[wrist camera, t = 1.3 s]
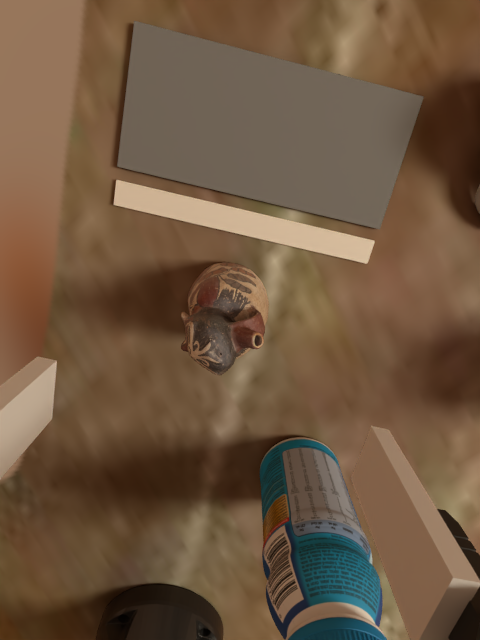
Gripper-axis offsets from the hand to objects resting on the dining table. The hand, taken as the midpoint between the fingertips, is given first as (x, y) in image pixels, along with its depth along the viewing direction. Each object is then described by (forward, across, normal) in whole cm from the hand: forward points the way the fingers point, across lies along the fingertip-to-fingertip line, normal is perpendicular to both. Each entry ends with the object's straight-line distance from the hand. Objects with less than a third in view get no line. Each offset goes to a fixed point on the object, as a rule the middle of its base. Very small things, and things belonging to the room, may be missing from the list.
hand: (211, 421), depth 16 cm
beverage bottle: (+20, -11, +16) cm, 28 cm away
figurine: (+20, 0, 0) cm, 20 cm away
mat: (+20, 0, -14) cm, 24 cm away
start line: (+20, 0, -7) cm, 21 cm away
